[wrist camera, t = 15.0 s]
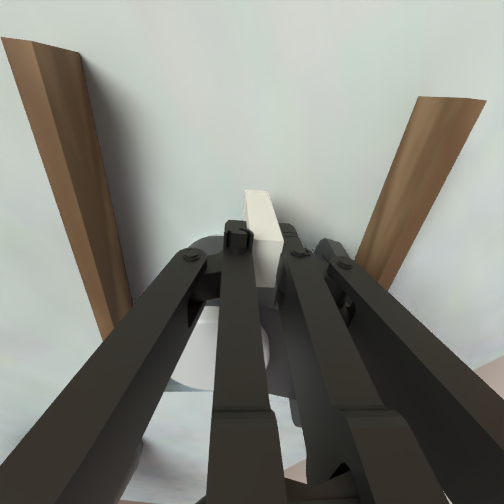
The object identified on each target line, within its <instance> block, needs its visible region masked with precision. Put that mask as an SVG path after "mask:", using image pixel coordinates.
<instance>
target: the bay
mask: <svg viewBox="0 0 504 504" xmlns="http://www.w3.org/2000/svg"><path fill="white" fill-rule="evenodd" d="M1 40H2V43H3V46H4V49H5V52H6V55H7V58H8V61H9V64H10V66H11V69H12V72H13V75H14V78H15V81H16V84H17V87H18V90H19V93H20V96H21V99H22V102H23V105H24V108H25V111H26V114H27V117H28V120H29V123H30V126H31V129H32V132H33V135H34V138H35V141H36V144H37V147H38V150H39V153H40V156H41V159H42V162H43V165H44V168H45V171H46V173H47V176H48V179H49V182H50V185H51V188H52V191H53V194H54V197H55V200H56V203H57V206H58V209H59V212H60V215H61V218H62V221H63V224H64V227H65V230H66V233H67V236H68V239H69V242H70V245H71V248H72V251H73V254H74V257H75V260H76V263H77V266H78V269H79V272H80V275H81V278H82V280H83V283H84V286H85V289H86V292H87V295H88V298H89V301H90V304H91V307H92V310H93V313H94V316H95V319H96V322H97V325H98V328H99V331H100V334H101V337H102V340H103V341H104V340H105V339H106V338H107V336H108V335H109V334H110V333H111V332H112V330H113V329H114V328H115V327H116V326H117V324H118V323H119V322H120V321H121V320H122V318H123V317H124V316H125V315H126V313H127V312H128V311H129V310H130V309H131V307H132V306H133V304H132V299H131V294H130V289H129V285H128V280H127V275H126V271H125V266H124V261H123V256H122V252H121V247H120V242H119V238H118V233H117V228H116V223H115V219H114V214H113V209H112V205H111V200H110V195H109V190H108V186H107V181H106V176H105V172H104V167H103V162H102V157H101V153H100V148H99V143H98V139H97V134H96V129H95V124H94V120H93V115H92V110H91V106H90V101H89V96H88V91H87V87H86V82H85V77H84V73H83V68H82V63H81V58H80V54H79V53H78V52H74V51H70V50H66V49H62V48H58V47H54V46H50V45H46V44H41V43H37V42H33V41H27V40H20V39H12V38H5V37H1ZM485 103H486V101H485V100H478V99H470V98H450V97H420V96H419V97H418V99H417V102H416V104H415V107H414V109H413V112H412V114H411V117H410V120H409V122H408V125H407V127H406V130H405V132H404V135H403V137H402V140H401V143H400V145H399V148H398V150H397V153H396V155H395V158H394V160H393V163H392V166H391V168H390V171H389V173H388V176H387V178H386V181H385V183H384V186H383V189H382V191H381V194H380V196H379V199H378V201H377V204H376V206H375V209H374V212H373V214H372V217H371V219H370V222H369V224H368V227H367V229H366V232H365V235H364V237H363V240H362V242H361V245H360V247H359V250H358V252H357V255H356V257H355V260H354V261H355V262H356V263H357V264H359V265H360V266H361V267H362V268H363V269H364V270H365V271H366V272H367V273H368V274H369V275H370V276H371V277H372V278H374V279H375V280H376V281H377V282H378V283H379V284H380V285H381V286H382V287H383V288H384V289H385V290H386V291H388V290H389V288H390V286H391V284H392V282H393V280H394V278H395V276H396V274H397V272H398V271H399V269H400V267H401V265H402V263H403V261H404V259H405V257H406V255H407V253H408V251H409V249H410V247H411V246H412V244H413V242H414V240H415V238H416V236H417V234H418V232H419V230H420V228H421V226H422V224H423V222H424V221H425V219H426V217H427V215H428V213H429V211H430V209H431V207H432V205H433V203H434V201H435V199H436V198H437V196H438V194H439V192H440V190H441V188H442V186H443V184H444V182H445V180H446V178H447V176H448V174H449V173H450V171H451V169H452V167H453V165H454V163H455V161H456V159H457V157H458V155H459V153H460V151H461V149H462V148H463V146H464V144H465V142H466V140H467V138H468V136H469V134H470V132H471V130H472V128H473V126H474V125H475V123H476V121H477V119H478V117H479V115H480V113H481V111H482V109H483V107H484V105H485ZM183 391H208V390H200V389H195V388H192V387H188V386H185V385H183V384H181V383H179V382H177V381H175V380H173V379H172V378H170V380H169V382H168V384H167V386H166V388H165V390H164V392H183Z"/></svg>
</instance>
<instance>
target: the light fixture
mask: <svg viewBox="0 0 504 504" xmlns="http://www.w3.org/2000/svg"><path fill="white" fill-rule="evenodd" d="M223 242H224V234H217V235H212V236H208V237H205V238H201V239H199V240H197V241H196V242H194V243H193V244H192V245H190V246H189V247H188V248H198V249H201V250H203V251H204V252H206V254H207V256H208V255H214V254H217V253H219V252H220V251H221V250H222V249H223ZM312 254H313V256H314V258H315V259H316V260H319V261H323V262H327V263H329V262H330V259H331V258H332V257H334V256H344V257H348V258H350V257H349V256H348V254H347V252H346V251H345V249H344V248H343V246H342V245H341V243H339V242H336V241H333V240H329V239H326V238H324V239H322V240H321V241H320V242H319V244H318V245H317V247H316V249H315V251H314V253H312ZM256 289H257V298H258V307H259V316H260V325H261V333H262V342H263V351H264V360H265V369H266V378H267V386H268V394H273V395H277V396H282V397H287V398H289V401H290V408H291V415H292V420H293V423H294V425H295V426H297V427H302V425H301V420H300V415H299V410H298V405H297V400H296V395H295V390H294V384H293V379H292V374H291V369H290V364H289V359H288V354H287V349H286V344H285V339H284V334H283V328H282V323H281V318H280V313H279V308H278V303H277V302H276V306H273V305H274V299H275V294H276V290H277V281H276V282H275V287H274V288H270V287H256ZM219 302H220V298H216V299H211V300H206V305H205V307H204V309H203V311H202V313H201V315H200V317H199V320H198V322H197V324H196V326H195V328H194V330H193V332H192V334H191V336H190V338H189V340H188V342H187V345H186V347H185V349H184V351H183V353H182V355H181V357H180V359H179V361H178V363H177V365H176V367H175V370H174V372H173V374H172V376H171V378H172V379H173V380H175V381H177V382H179V383H181V384H183V385H185V386H188V387H192V388H195V389H200V390H208V391H214V377H215V362H216V347H217V332H218V317H219ZM346 302H347V303H348V304H349V305H351V304H352V300H351V299H350V298H349V296H348V298H347V300H346Z"/></svg>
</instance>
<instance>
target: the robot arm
mask: <svg viewBox="0 0 504 504" xmlns="http://www.w3.org/2000/svg"><path fill="white" fill-rule="evenodd" d="M276 281H277V290H276V294H275V299H274V305H273V306H276V302H277V303H278V308H279V313H280V318H281V323H282V328H283V334H284V339H285V344H286V349H287V354H288V359H289V364H290V369H291V374H292V379H293V384H294V390H295V395H296V400H297V405H298V410H299V415H300V420H301V425H302V430H303V435H304V440H305V446H306V454H307V459H306V477H307V484H304V483H301V482H297V481H294V480H291V479H288V478H285V477H284V471H283V464H282V456H281V448H280V441H279V433H278V426H277V420H276V416H275V413H274V412H273V411H272V410H271V407H270V403H269V395H268V386H267V378H266V369H265V360H264V351H263V342H262V333H261V325H260V316H259V307H258V298H257V289H256V287H270V288H274V287H275V282H276ZM348 296H349V298H350V299H351V300H352V304H351V305H349V304H348V303H347V302H346V300H347V298H348ZM216 298H220V302H219V317H218V332H217V347H216V362H215V377H214V391H213V406H212V418H211V432H210V446H209V461H208V476H207V490H206V496H204V497H203V498H202V499H201V500H199V501H198V502H197V503H196V504H449V502H448V500H447V498H446V496H445V494H446V495H447V497H448V498H449V499H450V501H451V502H452V504H504V400H503V399H502V398H501V397H500V396H499V395H498V394H497V393H496V392H495V391H494V390H493V389H491V388H490V387H489V386H488V385H487V384H486V383H485V382H484V381H483V380H482V379H481V378H480V377H479V376H478V375H476V374H475V373H474V372H473V371H472V370H471V369H470V368H469V367H468V366H467V365H466V364H465V363H464V362H463V361H461V360H460V359H459V358H458V357H457V356H456V355H455V354H454V353H453V352H452V351H451V350H450V349H449V348H448V347H446V346H445V345H444V344H443V343H442V342H441V341H440V340H439V339H438V338H437V337H436V336H435V335H434V334H433V333H431V332H430V331H429V330H428V329H427V328H426V327H425V326H424V325H423V324H422V323H421V322H420V321H419V320H418V319H416V318H415V317H414V316H413V315H412V314H411V313H410V312H409V311H408V310H407V309H406V308H405V307H404V306H403V305H401V304H400V303H399V302H398V301H397V300H396V299H395V298H394V297H393V296H392V295H391V294H390V293H389V292H388V291H386V290H385V289H384V288H383V287H382V286H381V285H380V284H379V283H378V282H377V281H376V280H375V279H374V278H372V277H371V276H370V275H369V274H368V273H367V272H366V271H365V270H364V269H363V268H362V267H361V266H360V265H359V264H357V263H356V262H355V261H353V260H352V259H350V258H348V257H344V256H334V257H332V258H331V259H330V262H329V263H327V262H323V261H319V260H316V259H315V258H314V256H313V254H312V253H311V251H309V250H308V249H306V248H304V247H303V246H302V244H301V242H300V239H299V237H298V235H297V232H296V230H295V228H294V227H293V226H292V225H290V224H287V223H278V221H277V218H276V215H275V212H274V209H273V206H272V203H271V200H270V197H269V193H268V191H262V190H250V189H245V197H244V208H243V218H242V221H237V220H228V221H227V222H226V223H225V232H224V242H223V249H222V250H221V251H220V252H219V253H217V254H214V255H208V256H207V254H206V252H204V251H203V250H201V249H198V248H185V249H182V250H180V251H179V252H177V253H176V254H175V256H174V257H173V258H172V259H171V260H170V262H169V263H168V264H167V265H166V266H165V268H164V269H163V270H162V271H161V272H160V274H159V275H158V276H157V277H156V278H155V280H154V281H153V282H152V283H151V285H150V286H149V287H148V288H147V289H146V291H145V292H144V293H143V294H142V295H141V297H140V298H139V299H138V300H137V301H136V303H135V304H134V305H133V306H132V307H131V309H130V310H129V311H128V312H127V313H126V315H125V316H124V317H123V318H122V320H121V321H120V322H119V323H118V324H117V326H116V327H115V328H114V329H113V330H112V332H111V333H110V334H109V335H108V336H107V338H106V339H105V340H104V341H103V342H102V344H101V345H100V346H99V347H98V349H97V350H96V351H95V352H94V353H93V355H92V356H91V357H90V358H89V359H88V361H87V362H86V363H85V364H84V365H83V367H82V368H81V369H80V370H79V371H78V373H77V374H76V375H75V376H74V377H73V379H72V380H71V381H70V382H69V384H68V385H67V386H66V387H65V388H64V390H63V391H62V392H61V393H60V394H59V396H58V397H57V398H56V399H55V400H54V402H53V403H52V404H51V405H50V406H49V408H48V409H47V410H46V411H45V412H44V414H43V415H42V416H41V417H40V419H39V420H38V421H37V422H36V423H35V425H34V426H33V427H32V428H31V429H30V431H29V432H28V433H27V434H26V435H25V437H24V438H23V439H22V440H21V441H20V443H19V444H18V445H17V446H16V447H15V449H14V450H13V451H12V452H11V454H10V455H9V456H8V457H7V458H6V460H5V461H4V462H3V463H2V464H1V466H0V504H118V502H119V500H120V498H121V496H122V494H123V492H124V491H125V489H126V487H127V485H128V483H129V481H130V479H131V477H132V475H133V473H134V472H135V470H136V468H137V466H138V463H139V460H140V456H141V452H142V448H143V445H142V442H141V438H142V436H143V434H144V432H145V430H146V428H147V426H148V424H149V422H150V420H151V417H152V415H153V413H154V411H155V409H156V407H157V405H158V403H159V401H160V399H161V397H162V395H163V392H164V390H165V388H166V386H167V384H168V382H169V380H170V378H171V376H172V374H173V372H174V370H175V367H176V365H177V363H178V361H179V359H180V357H181V355H182V353H183V351H184V349H185V347H186V345H187V342H188V340H189V338H190V336H191V334H192V332H193V330H194V328H195V326H196V324H197V322H198V320H199V317H200V315H201V313H202V311H203V309H204V307H205V305H206V300H211V299H216ZM443 491H444V492H443ZM444 493H445V494H444Z"/></svg>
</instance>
